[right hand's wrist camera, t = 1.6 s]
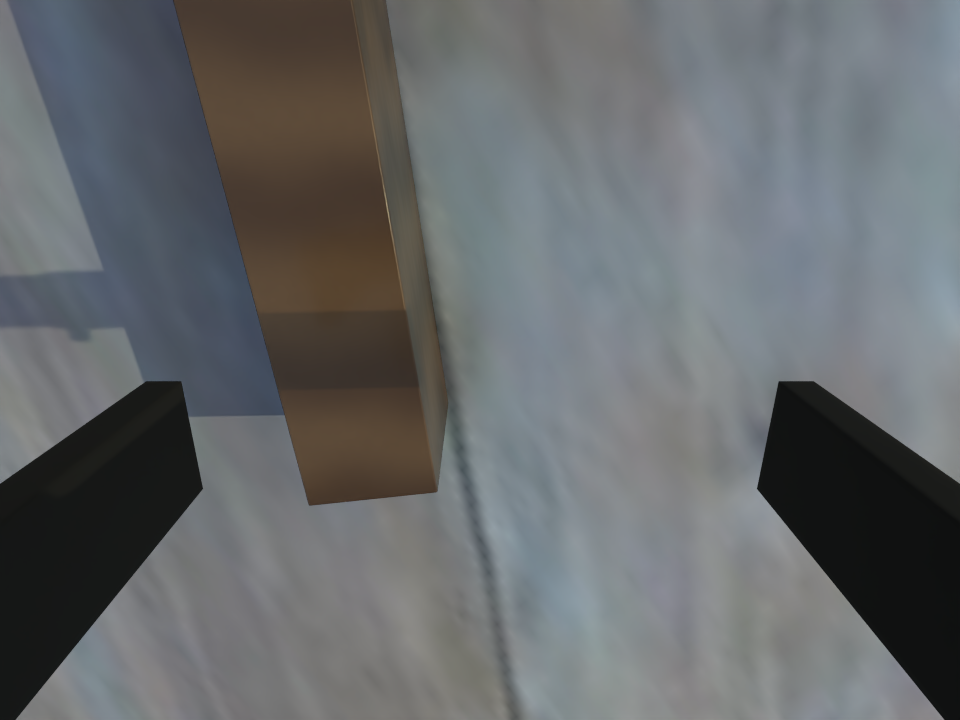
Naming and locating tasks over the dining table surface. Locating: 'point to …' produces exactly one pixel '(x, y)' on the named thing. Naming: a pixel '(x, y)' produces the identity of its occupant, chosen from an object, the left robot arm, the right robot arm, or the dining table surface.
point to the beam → (327, 233)
